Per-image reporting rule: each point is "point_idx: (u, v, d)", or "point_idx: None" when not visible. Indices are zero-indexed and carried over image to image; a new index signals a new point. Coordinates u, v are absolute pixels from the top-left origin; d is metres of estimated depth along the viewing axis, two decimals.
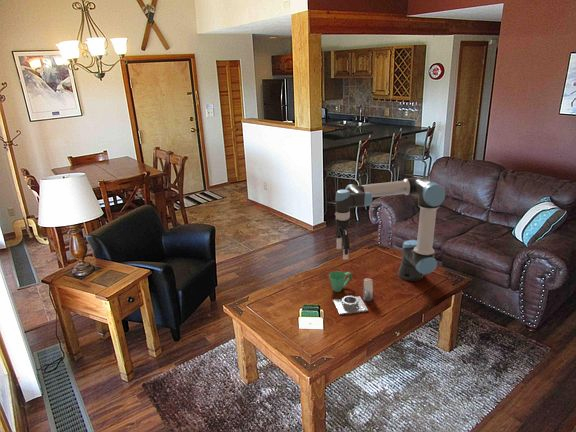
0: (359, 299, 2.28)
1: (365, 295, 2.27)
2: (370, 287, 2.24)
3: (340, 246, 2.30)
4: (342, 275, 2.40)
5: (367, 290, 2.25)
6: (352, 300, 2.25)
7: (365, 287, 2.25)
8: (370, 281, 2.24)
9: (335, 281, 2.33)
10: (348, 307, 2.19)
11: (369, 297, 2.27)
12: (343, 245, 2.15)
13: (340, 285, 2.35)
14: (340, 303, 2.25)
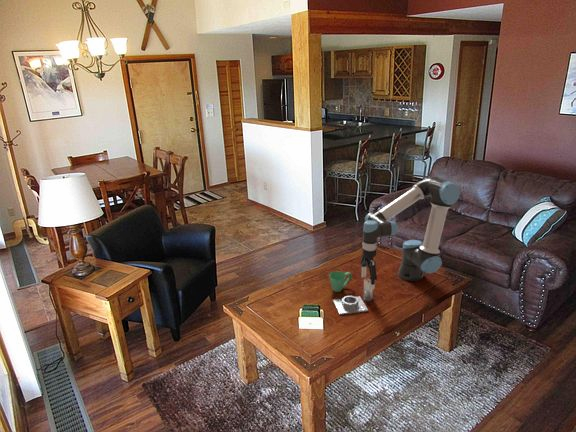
0: (359, 299, 2.28)
1: (365, 295, 2.27)
2: None
3: (365, 274, 2.31)
4: (342, 275, 2.40)
5: (367, 290, 2.25)
6: (352, 300, 2.25)
7: (365, 287, 2.25)
8: None
9: (335, 281, 2.33)
10: (348, 307, 2.19)
11: (369, 297, 2.27)
12: (370, 275, 2.17)
13: (340, 285, 2.35)
14: (340, 303, 2.25)
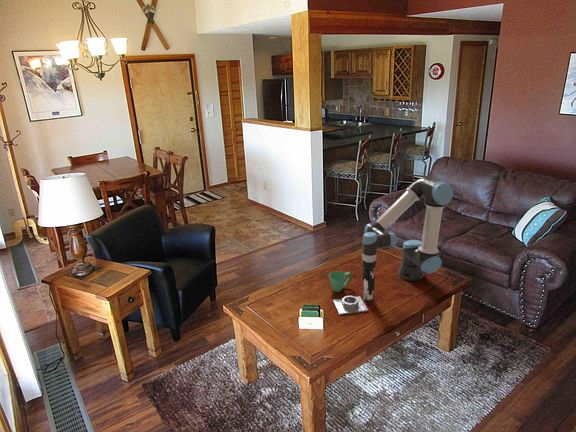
0: (359, 299, 2.28)
1: (365, 295, 2.27)
2: None
3: None
4: (342, 275, 2.40)
5: None
6: (352, 300, 2.25)
7: (365, 287, 2.25)
8: None
9: (335, 281, 2.33)
10: (348, 307, 2.19)
11: None
12: (368, 286, 2.23)
13: (340, 285, 2.35)
14: (340, 303, 2.25)
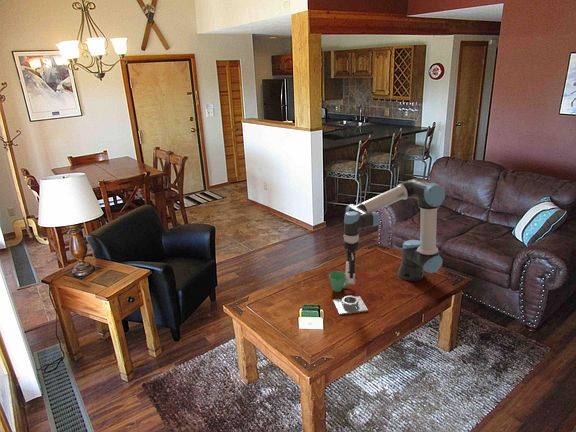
0: (359, 299, 2.28)
1: (347, 278, 2.16)
2: None
3: None
4: (342, 275, 2.40)
5: (348, 273, 2.14)
6: (352, 300, 2.25)
7: (346, 270, 2.14)
8: None
9: (335, 281, 2.33)
10: (348, 307, 2.19)
11: None
12: (349, 268, 2.12)
13: (340, 285, 2.35)
14: (340, 303, 2.25)
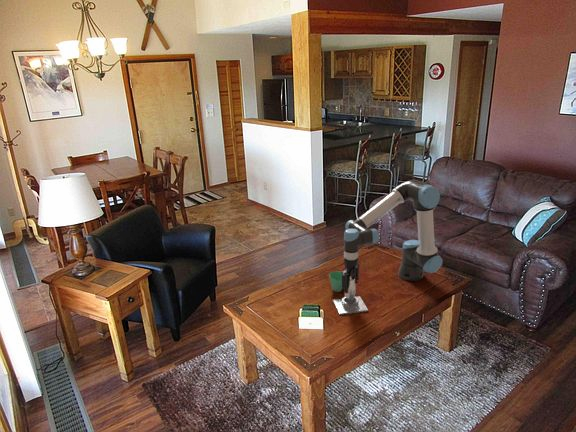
0: (359, 299, 2.28)
1: None
2: None
3: None
4: None
5: None
6: (352, 300, 2.25)
7: None
8: (350, 280, 2.16)
9: (335, 281, 2.33)
10: (348, 307, 2.19)
11: None
12: None
13: (340, 285, 2.35)
14: (340, 303, 2.25)
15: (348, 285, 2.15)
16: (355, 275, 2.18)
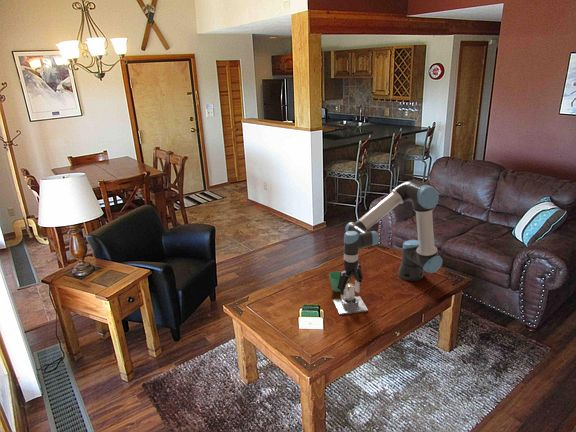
0: (359, 299, 2.28)
1: None
2: (347, 292, 2.18)
3: (357, 290, 2.23)
4: None
5: None
6: None
7: None
8: (349, 287, 2.18)
9: (335, 281, 2.33)
10: (348, 307, 2.19)
11: (347, 302, 2.21)
12: None
13: None
14: (340, 303, 2.25)
15: (344, 287, 2.14)
16: (357, 275, 2.19)
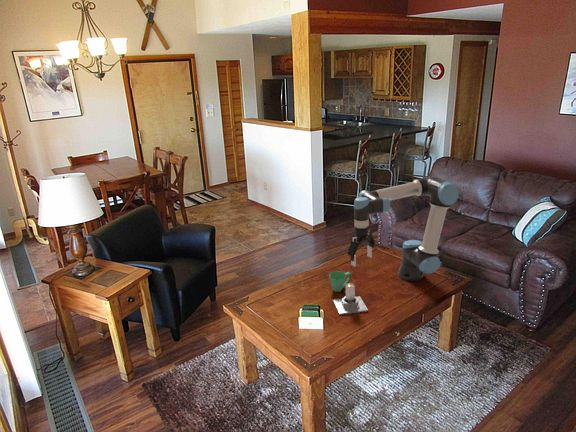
0: (359, 299, 2.28)
1: None
2: (347, 292, 2.18)
3: (370, 255, 2.25)
4: (342, 275, 2.40)
5: None
6: None
7: None
8: (349, 287, 2.18)
9: (335, 281, 2.33)
10: (348, 307, 2.19)
11: (347, 302, 2.21)
12: None
13: (340, 285, 2.35)
14: (340, 303, 2.25)
15: (354, 253, 2.14)
16: (369, 241, 2.20)
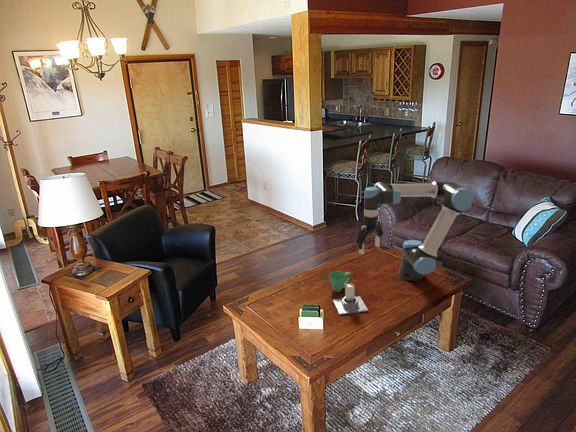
0: (359, 299, 2.28)
1: None
2: (347, 293, 2.18)
3: (377, 244, 2.31)
4: (342, 275, 2.40)
5: (345, 294, 2.20)
6: None
7: None
8: (349, 287, 2.17)
9: (335, 281, 2.33)
10: (348, 307, 2.19)
11: None
12: None
13: (340, 285, 2.35)
14: (340, 303, 2.25)
15: (363, 241, 2.20)
16: (377, 230, 2.26)
